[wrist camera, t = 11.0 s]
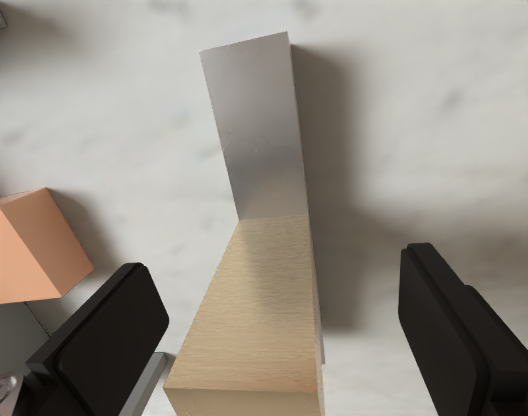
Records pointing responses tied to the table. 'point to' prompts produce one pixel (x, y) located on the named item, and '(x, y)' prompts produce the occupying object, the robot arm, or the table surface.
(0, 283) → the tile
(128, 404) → the box
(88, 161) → the table surface
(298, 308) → the scraper
